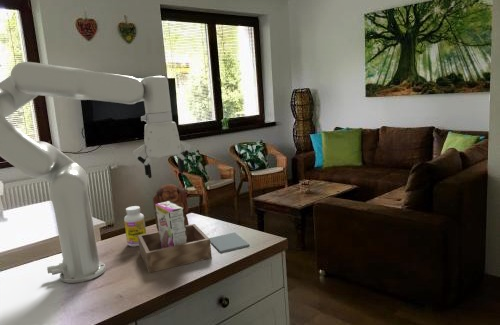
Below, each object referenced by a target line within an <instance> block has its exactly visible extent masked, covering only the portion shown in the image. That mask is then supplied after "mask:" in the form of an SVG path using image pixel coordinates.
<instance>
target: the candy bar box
mask: <svg viewBox="0 0 500 325" xmlns="http://www.w3.org/2000/svg"><path fill="white" fill-rule="evenodd" d="M155 206H156V210H155V212H156V213H157V221H158V227H159V235H160V242H161V249H162V248H167V247H171V246H176V245H180V244H185V243H187V236H186V228H185V220H184V211H183V208H182V207H180V206H178V205H176V204H174V203H172V202H170V201H166V202H162V203H158V204H155Z"/></svg>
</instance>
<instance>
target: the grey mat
mask: <svg viewBox="0 0 500 325" xmlns="http://www.w3.org/2000/svg"><path fill="white" fill-rule="evenodd" d="M208 238H209V239H210V245H212V246H213V247H214V248H215V249H216V250H217V251H218V252H219V253H220V254H221V253H222V254H223V253H225V252H230V251H234V250H238V249H239V250H240V249H242V248H246V247H250V243H249V242H248V241H246V240H245V239H244V238H242V237H241V235H239V234H238V233H236V232H232V233H227V234H226V233H225V234H222V235H217V236H212V237H208Z"/></svg>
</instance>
